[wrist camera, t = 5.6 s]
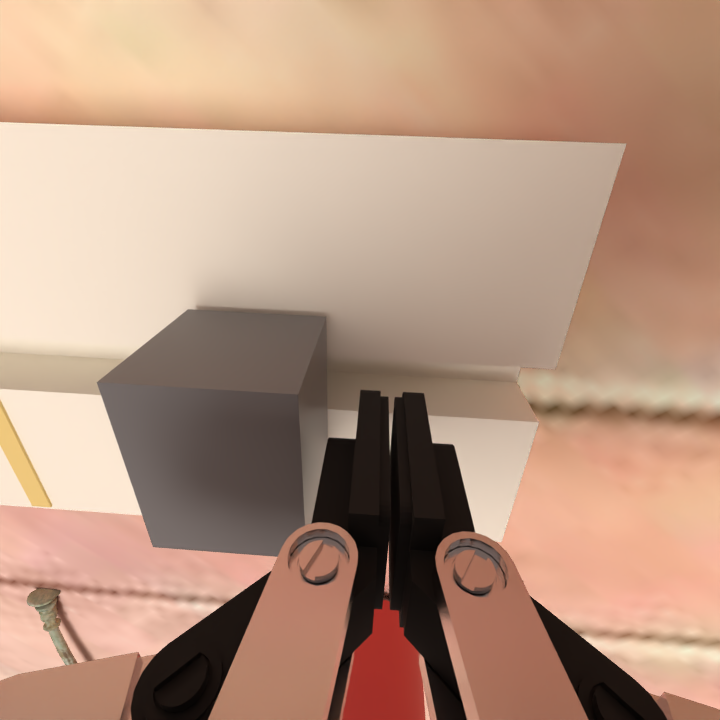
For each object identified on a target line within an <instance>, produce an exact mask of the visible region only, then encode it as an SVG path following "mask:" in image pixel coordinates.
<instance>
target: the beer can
mask: <svg viewBox="0 0 720 720" xmlns="http://www.w3.org/2000/svg"><path fill="white" fill-rule="evenodd" d="M342 720H425V707H424V692H423V681H422V676H421V671H420V665H419V657H418V651H417V650H416V649H415V647H414V646H413V645H412V644H411V643H410V642H409V641H408V640H407V639H406V637H405V636H404V628H402V627H399V611H397V610H390V600H389V599H387V598H384V597H383V607H382V609H374V618H373V631H372V634H371V635H370V636H369V637H368V638H367V639H366V640H365V641H364V642H363V643H362V644H361V645H360V646H359V647H358V648H357V649H356V650H355V651H354V660H353V665H352V670H351V676H350V681H349V686H348V691H347V697H346V702H345V707H344V712H343V718H342Z"/></svg>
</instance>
